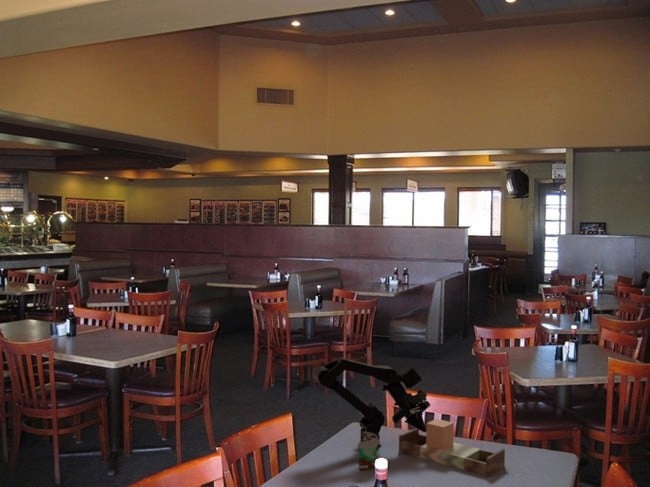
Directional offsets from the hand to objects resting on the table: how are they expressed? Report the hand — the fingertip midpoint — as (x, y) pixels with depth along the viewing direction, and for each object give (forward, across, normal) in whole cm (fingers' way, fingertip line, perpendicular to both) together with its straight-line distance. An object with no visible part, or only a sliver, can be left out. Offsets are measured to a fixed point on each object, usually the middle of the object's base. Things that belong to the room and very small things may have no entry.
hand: (425, 431), depth 234 cm
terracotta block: (+7, 0, -2) cm, 7 cm away
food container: (+1, -25, +10) cm, 27 cm away
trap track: (+13, 0, -2) cm, 13 cm away
